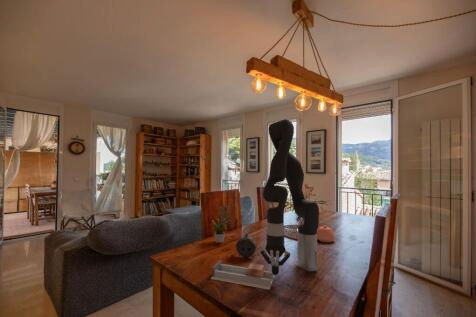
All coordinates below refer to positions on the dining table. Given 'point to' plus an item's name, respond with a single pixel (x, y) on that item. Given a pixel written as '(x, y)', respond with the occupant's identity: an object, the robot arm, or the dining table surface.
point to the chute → (240, 276)
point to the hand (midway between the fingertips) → (275, 274)
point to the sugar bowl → (325, 234)
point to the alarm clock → (246, 246)
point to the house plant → (219, 231)
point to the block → (256, 270)
